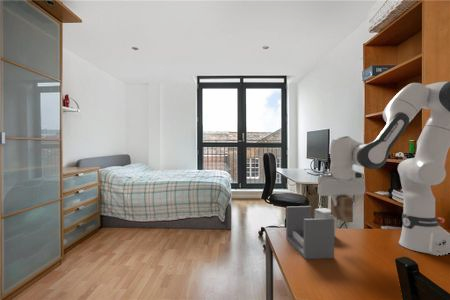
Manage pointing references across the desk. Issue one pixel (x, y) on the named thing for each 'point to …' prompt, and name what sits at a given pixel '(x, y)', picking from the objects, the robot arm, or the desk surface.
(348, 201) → the door panel
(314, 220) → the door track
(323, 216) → the supplement box
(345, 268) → the desk surface
